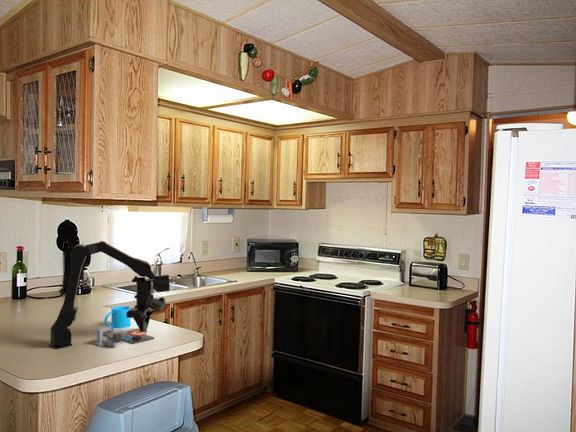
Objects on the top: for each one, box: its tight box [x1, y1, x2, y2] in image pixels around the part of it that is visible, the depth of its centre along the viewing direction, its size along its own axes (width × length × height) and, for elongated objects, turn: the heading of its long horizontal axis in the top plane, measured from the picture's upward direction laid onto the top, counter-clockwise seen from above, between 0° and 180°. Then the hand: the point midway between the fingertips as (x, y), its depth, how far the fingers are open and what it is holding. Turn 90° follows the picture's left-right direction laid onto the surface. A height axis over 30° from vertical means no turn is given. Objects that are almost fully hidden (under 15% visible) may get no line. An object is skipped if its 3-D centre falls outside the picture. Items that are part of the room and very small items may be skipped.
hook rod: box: [103, 331, 122, 344], centre depth 191 cm, size 2×13×3 cm, turn 51°
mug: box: [104, 305, 131, 329], centre depth 219 cm, size 12×8×8 cm
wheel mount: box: [121, 334, 155, 345], centre depth 200 cm, size 10×10×1 cm
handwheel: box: [126, 321, 148, 336], centre depth 199 cm, size 8×8×6 cm
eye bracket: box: [93, 326, 117, 348], centre depth 192 cm, size 7×8×6 cm
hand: (143, 330), depth 199 cm, fingers open, 3 cm apart
